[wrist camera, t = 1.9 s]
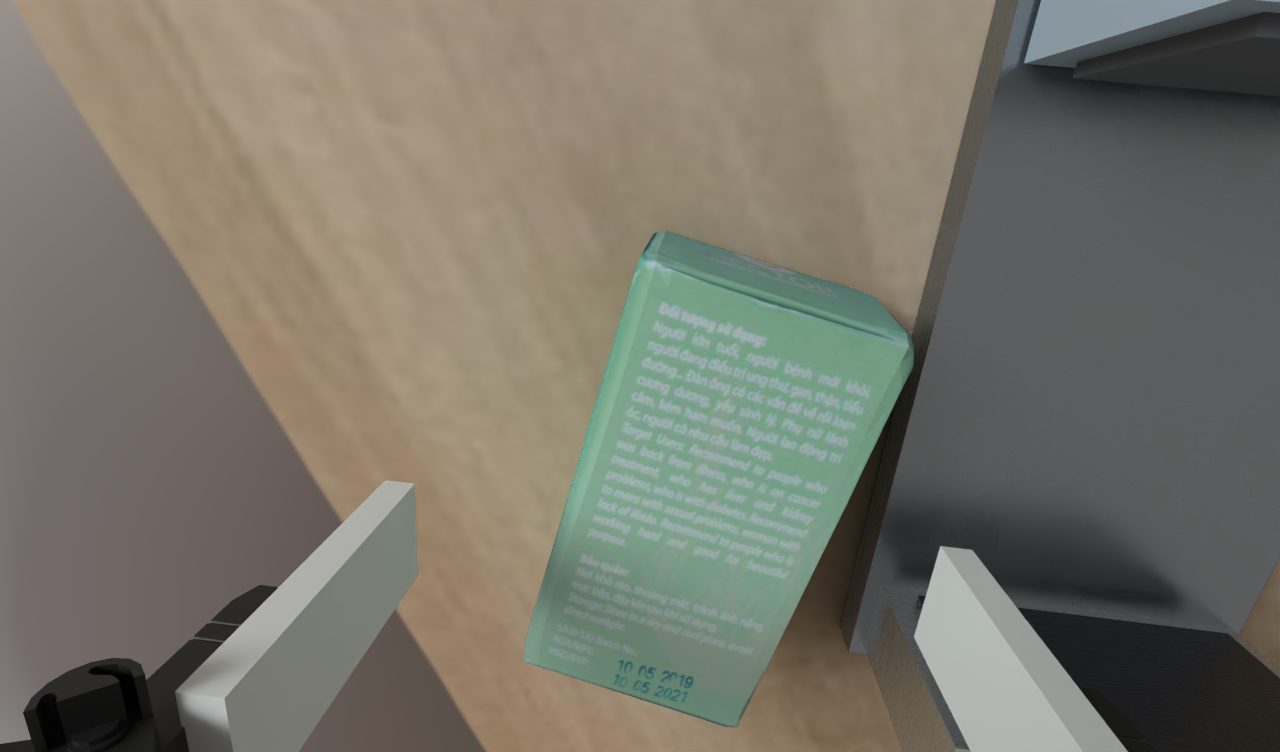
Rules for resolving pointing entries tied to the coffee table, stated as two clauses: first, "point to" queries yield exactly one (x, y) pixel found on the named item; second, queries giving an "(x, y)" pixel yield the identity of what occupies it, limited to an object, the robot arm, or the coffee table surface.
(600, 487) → the box
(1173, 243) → the vise
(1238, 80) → the block
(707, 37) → the coffee table surface
